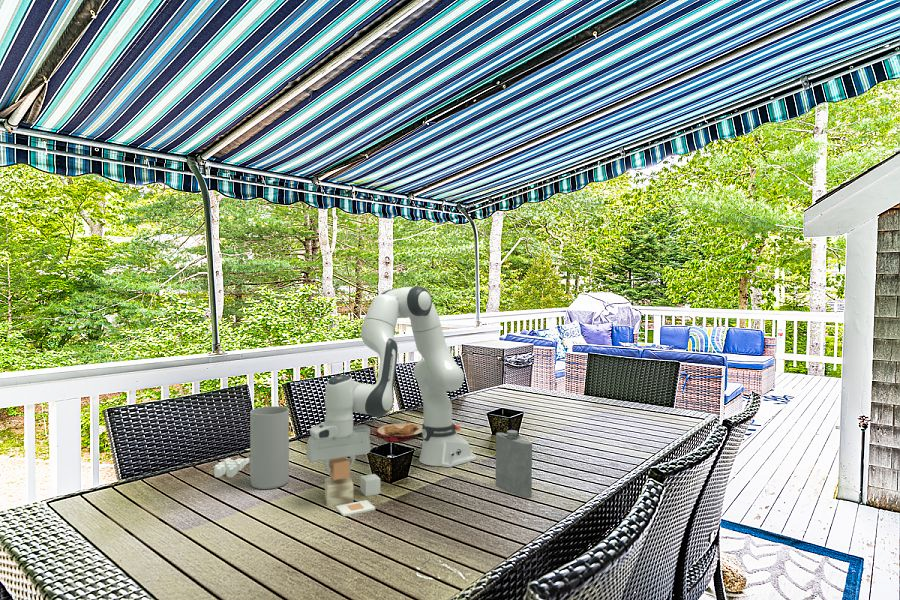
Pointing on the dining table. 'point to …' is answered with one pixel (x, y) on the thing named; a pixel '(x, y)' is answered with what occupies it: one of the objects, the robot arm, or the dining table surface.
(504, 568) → the dining table surface
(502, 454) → the hip flask
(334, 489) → the birch block
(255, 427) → the cylinder vase
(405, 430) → the plate with food
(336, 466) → the terracotta cube
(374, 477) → the grey cube
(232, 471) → the modular blocks
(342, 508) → the card
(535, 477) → the dining table surface
